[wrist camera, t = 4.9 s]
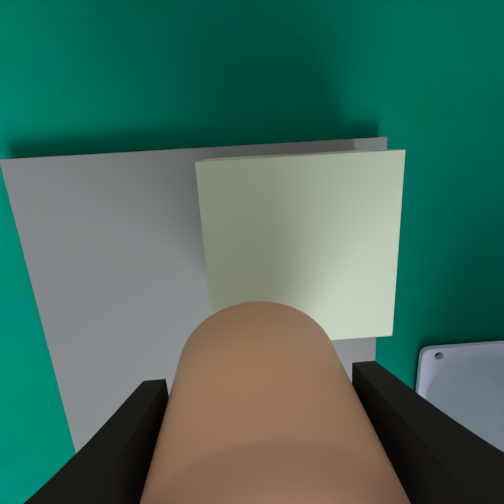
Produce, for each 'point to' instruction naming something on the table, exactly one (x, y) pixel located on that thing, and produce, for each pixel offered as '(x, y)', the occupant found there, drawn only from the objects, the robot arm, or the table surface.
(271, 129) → the table surface
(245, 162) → the sage top slab
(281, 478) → the terracotta cylinder
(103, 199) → the slate board
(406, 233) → the table surface
